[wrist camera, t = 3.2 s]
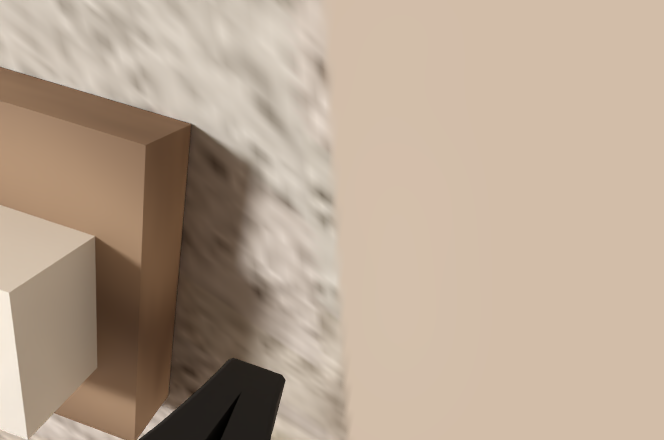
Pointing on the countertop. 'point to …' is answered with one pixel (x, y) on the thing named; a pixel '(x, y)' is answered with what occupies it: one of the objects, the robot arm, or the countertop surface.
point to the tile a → (43, 318)
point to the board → (106, 229)
